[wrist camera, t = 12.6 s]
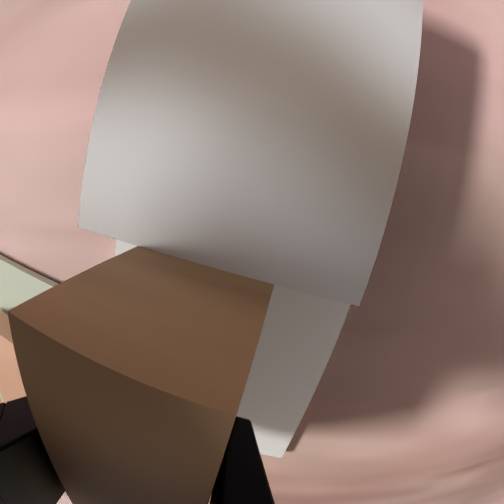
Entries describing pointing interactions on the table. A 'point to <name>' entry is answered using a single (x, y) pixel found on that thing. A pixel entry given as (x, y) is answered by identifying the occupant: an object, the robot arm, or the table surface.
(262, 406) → the tool pad
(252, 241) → the turner
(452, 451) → the table surface
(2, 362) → the tile
